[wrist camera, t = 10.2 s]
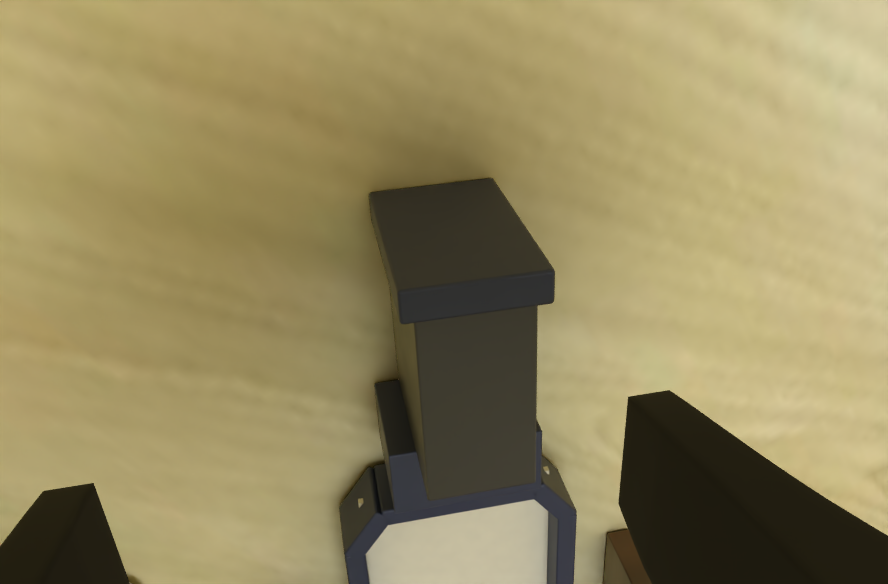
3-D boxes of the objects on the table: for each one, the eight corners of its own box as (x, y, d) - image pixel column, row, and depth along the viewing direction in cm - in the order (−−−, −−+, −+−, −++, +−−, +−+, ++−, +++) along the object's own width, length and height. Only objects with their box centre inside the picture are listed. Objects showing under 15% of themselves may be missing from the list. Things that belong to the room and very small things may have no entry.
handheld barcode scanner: (290, 200, 20) (298, 304, 15) (564, 168, 21) (646, 257, 16) (360, 643, 28) (378, 795, 23) (552, 605, 29) (604, 744, 24)
